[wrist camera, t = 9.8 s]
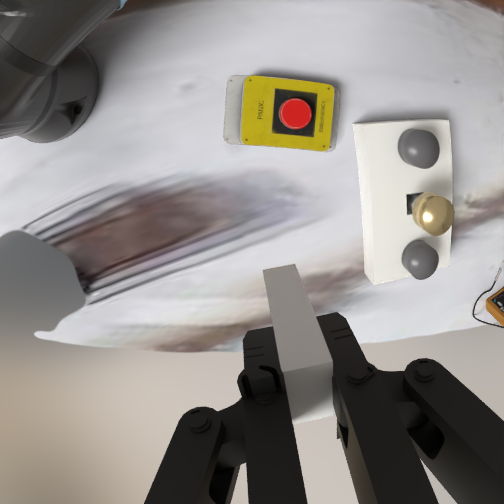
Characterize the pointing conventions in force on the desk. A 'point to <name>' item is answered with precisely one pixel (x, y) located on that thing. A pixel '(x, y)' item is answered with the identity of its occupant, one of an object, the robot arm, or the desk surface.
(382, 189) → the mount plate
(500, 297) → the multimeter
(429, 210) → the knob middle
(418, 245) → the knob far
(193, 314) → the desk surface
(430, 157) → the knob near
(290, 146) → the emergency button
